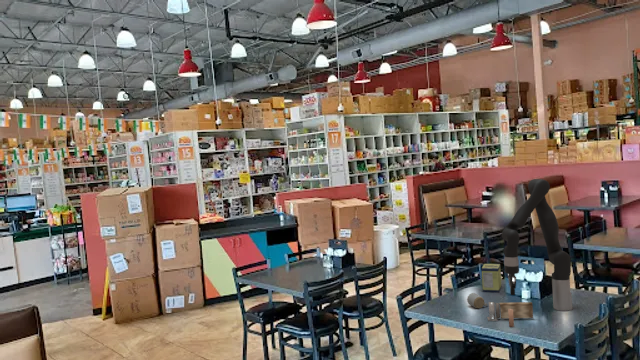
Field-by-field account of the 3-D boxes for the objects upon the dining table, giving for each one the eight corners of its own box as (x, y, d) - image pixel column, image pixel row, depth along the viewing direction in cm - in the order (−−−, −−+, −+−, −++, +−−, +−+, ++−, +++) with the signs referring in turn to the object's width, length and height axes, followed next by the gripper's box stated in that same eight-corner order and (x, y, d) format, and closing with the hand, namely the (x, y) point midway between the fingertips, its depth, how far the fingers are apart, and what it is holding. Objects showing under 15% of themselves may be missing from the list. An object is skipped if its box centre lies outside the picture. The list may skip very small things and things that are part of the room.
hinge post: (496, 318, 291) (495, 301, 290) (497, 321, 286) (496, 303, 285) (487, 318, 292) (486, 301, 291) (488, 321, 287) (487, 304, 286)
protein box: (501, 286, 353) (500, 263, 352) (499, 292, 339) (498, 268, 338) (485, 285, 357) (484, 263, 356) (482, 292, 343) (481, 268, 342)
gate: (496, 318, 287) (495, 304, 287) (496, 317, 290) (495, 302, 289) (533, 318, 283) (532, 303, 283) (532, 316, 286) (531, 302, 285)
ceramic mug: (474, 309, 308) (474, 296, 308) (467, 306, 316) (466, 293, 316) (490, 307, 311) (490, 294, 310) (482, 303, 319) (482, 291, 318)
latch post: (513, 325, 277) (512, 308, 277) (514, 327, 275) (513, 310, 274) (508, 325, 278) (507, 308, 277) (509, 327, 275) (508, 310, 275)
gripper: (520, 267, 288) (521, 298, 289) (516, 261, 301) (517, 291, 302) (506, 267, 289) (507, 298, 290) (502, 262, 302) (504, 291, 303)
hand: (512, 294), depth 296 cm, fingers closed
